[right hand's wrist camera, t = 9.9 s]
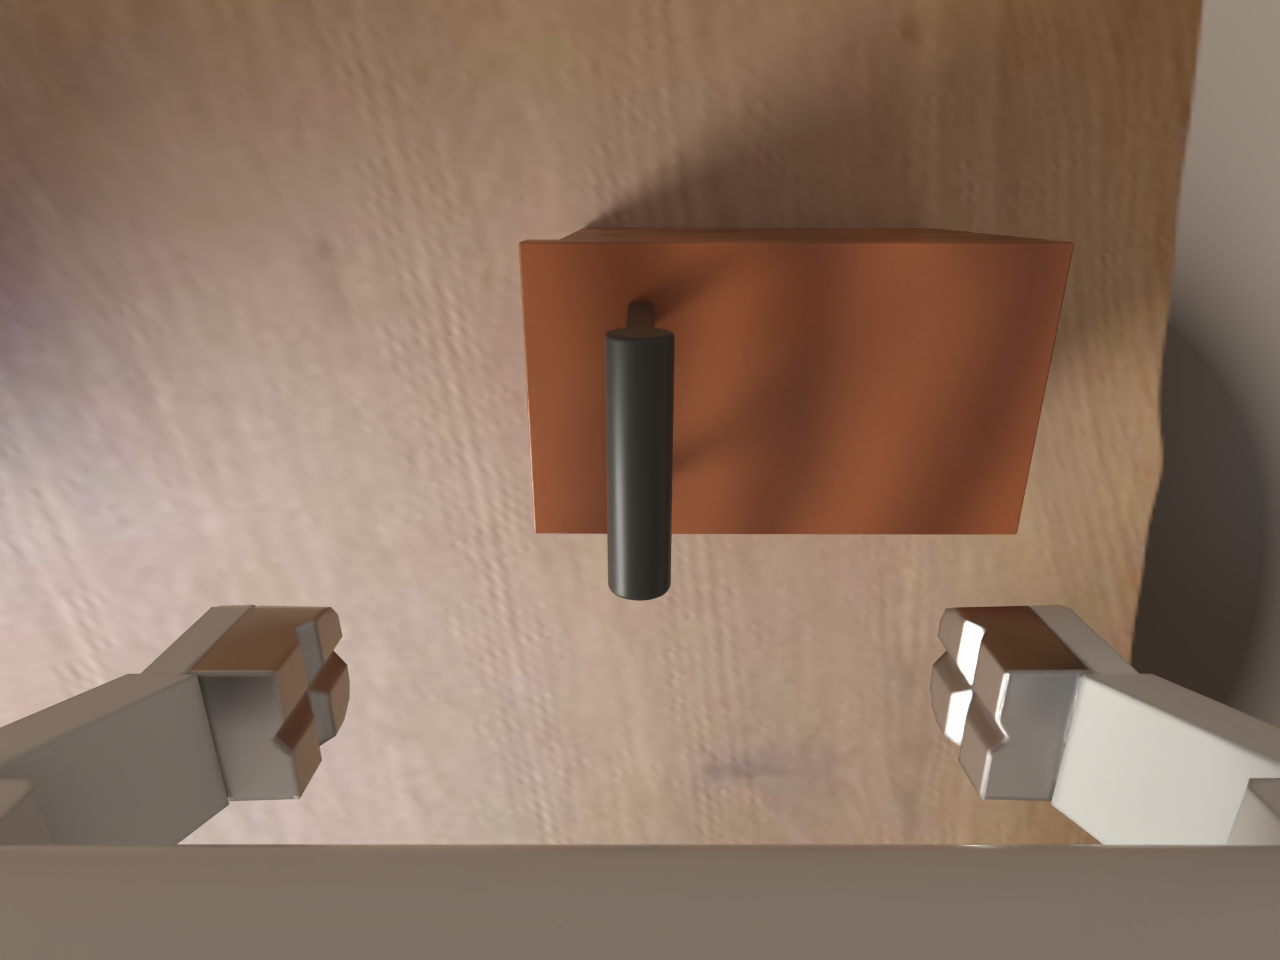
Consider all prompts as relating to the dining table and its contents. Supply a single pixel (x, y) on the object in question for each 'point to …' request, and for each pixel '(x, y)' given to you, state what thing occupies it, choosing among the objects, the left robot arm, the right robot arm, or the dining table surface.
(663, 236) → the chest
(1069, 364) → the dining table surface
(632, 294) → the lid
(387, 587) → the dining table surface
